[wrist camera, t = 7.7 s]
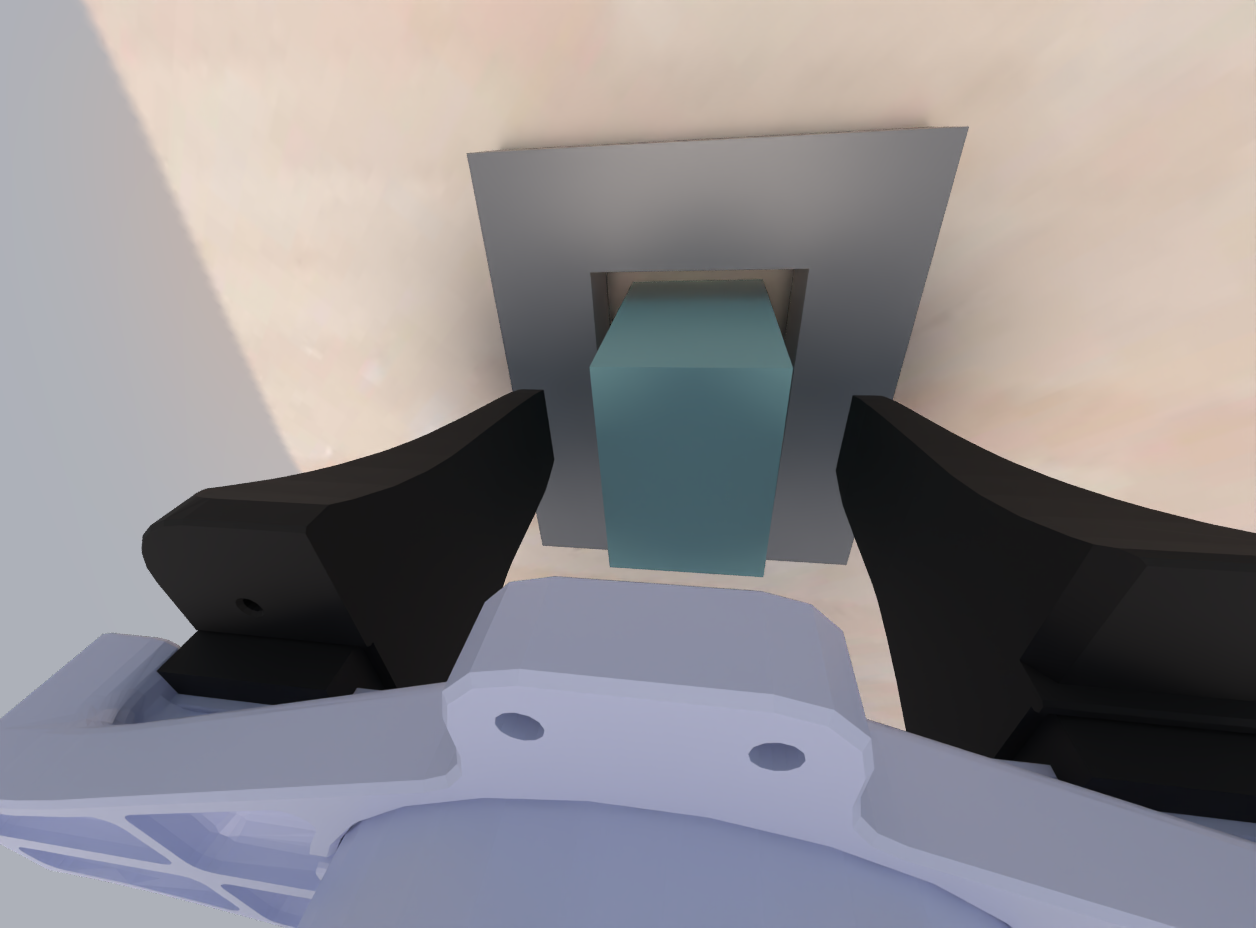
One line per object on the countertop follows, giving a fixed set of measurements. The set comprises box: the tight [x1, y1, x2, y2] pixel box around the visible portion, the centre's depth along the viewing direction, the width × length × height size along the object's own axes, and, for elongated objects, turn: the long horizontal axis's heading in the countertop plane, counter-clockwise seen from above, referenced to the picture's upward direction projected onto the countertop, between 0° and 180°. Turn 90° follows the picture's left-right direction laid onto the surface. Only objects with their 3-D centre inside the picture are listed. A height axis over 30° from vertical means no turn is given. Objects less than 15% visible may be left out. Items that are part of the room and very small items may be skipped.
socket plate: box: [467, 127, 969, 565], centre depth 14 cm, size 12×10×2 cm
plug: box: [590, 279, 793, 577], centre depth 12 cm, size 5×4×6 cm
